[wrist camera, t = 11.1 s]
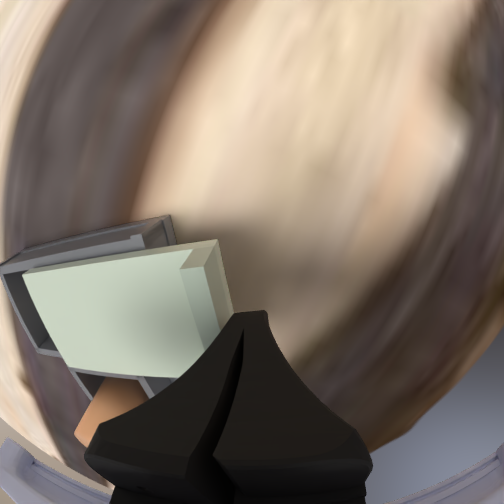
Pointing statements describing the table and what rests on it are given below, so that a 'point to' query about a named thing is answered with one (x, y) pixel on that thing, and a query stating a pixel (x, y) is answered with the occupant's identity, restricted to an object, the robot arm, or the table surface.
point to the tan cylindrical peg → (109, 405)
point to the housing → (76, 249)
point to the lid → (135, 308)
